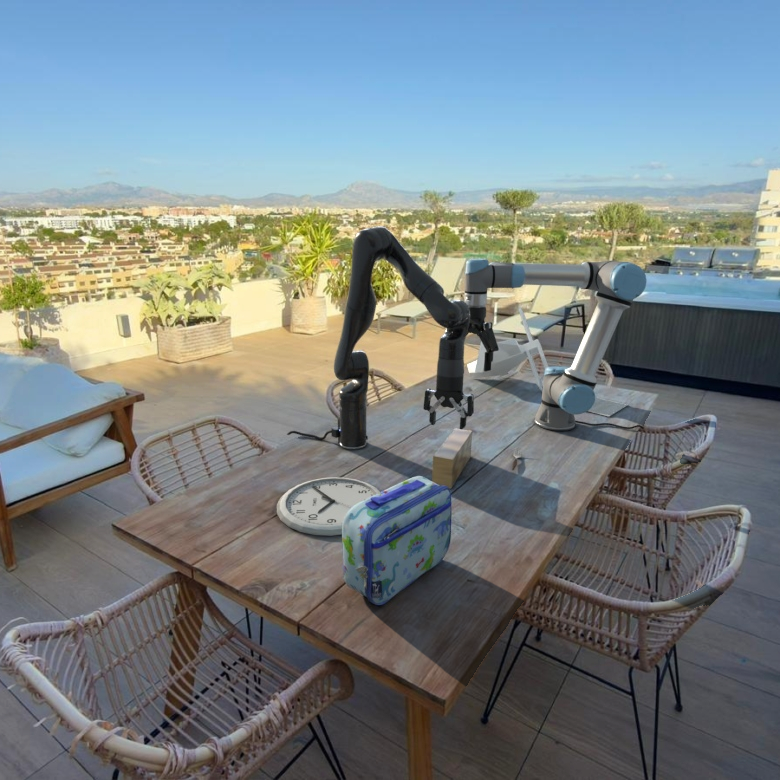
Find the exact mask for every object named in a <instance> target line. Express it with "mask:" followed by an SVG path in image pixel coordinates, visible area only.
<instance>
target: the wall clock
mask: <svg viewBox="0 0 780 780" xmlns="http://www.w3.org/2000/svg"><path fill="white" fill-rule="evenodd" d="M380 492H382V491H381V490H380V489H379V488H377V487H376V486H374V485H372V484H371V483H369V482H365V481H362V480H359V479H355V478H349V477H338V476H337V477H335V476H333V477H332V476H331V477H322V478H317V479H312V480H307V481H305V482H302V483H299V484H297V485H295V486H293V487H292V488H290V489H288V490H287V491H286V492H285V493H284V494H283V495H281V496H280V498H279V499H278V502H277V503H276V515H277V517H278V518H279V520H280V521H281V522H282V523H283V524H285V525H286V526H287V527H288V528H290V529H293V530H295V531H297V532H299V533H303V534H308V535H312V536H327V537H328V536H329V537H331V536H332V537H333V536H342V525H343V521H344V518H345V516H346V514H347V512H348V511H349V510H350V509H351V508H352V507H353V506H354V505H356V504H358V503H360V502H362V501H364V500H366V499H368V498H370V497H372V496H374V495H376V494H378V493H380Z"/></svg>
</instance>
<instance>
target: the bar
mask: <svg viewBox="0 0 780 780" xmlns="http://www.w3.org/2000/svg"><path fill="white" fill-rule="evenodd" d="M472 441H473V430H470V429H465V428H463V429H462V430H461V429H460V428H458V427H455V428H454V429H453V430H452V431H451V433H450V434H449V435H448V437H447V438H445V440H444V441H443V443H442V444H441V446H440V447H439V448H438V449H437V450H436V452H435V453H434V455H433V457H432V472H431V474H432V475H431V481H432V482H434V483H436V484H438V485H440V486H441V485H444V486H447V487H448V488H449V489H450V490H451V489H452V488H453V486H454V485H455V483H456V481H458V479H459V477H460V475H461V473H462V472H463V470H464V468H465V467H466V465H467V464H468V462H469V461H470V458H471V456H472V444H473V443H472Z"/></svg>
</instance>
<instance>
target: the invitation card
mask: <svg viewBox="0 0 780 780" xmlns="http://www.w3.org/2000/svg"><path fill="white" fill-rule="evenodd" d="M628 406H629V404H627V403H623V402H618V401H614V400H609V399H605V398H601V397H596V396H595V402H594V404H593V406H592V407H591V408H590V409H589V410H588V411H587V413H593V414H596V415H600V416H604V417H608V418H609V417H611V416H613V415H614V414H616V413H617V412H619V411H621V410H623V409H624V408H626V407H628Z"/></svg>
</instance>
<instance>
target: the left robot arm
mask: <svg viewBox="0 0 780 780" xmlns="http://www.w3.org/2000/svg"><path fill="white" fill-rule="evenodd" d="M351 252H352V253H351V269H350V279H349V284H348V293H347V298H346V302H345V307H344V315H343V322H342V328H341V333H340V337H339V340H338V344H337V348H336V351H335V355H334V359H333V360H334V361H333V371H334V376H335V378H337V380H340V381H350V382H349V383H347V384H346V385H344V386H343V387H341V388H340V390H339V393H338V396H339V397H338V399H339V416H338V417H337V426H334V427H331V429H330V430H327V431H325V433H324V435H323V436H321V437H320V436H317V435H314V434H310V433H306V432H300V431H297V430H290V431H288V432H287V433H286V436H290V435H291V434H292V435H293V434H294V435H295V434H296V435H299V436H303V437H308V438H313V439H316V440H319V441H324V440H325V439H326V438H327V436H328V435H329V434H331V437H332V438H335V439H337V444H339V446H340V447H341V448H342V449H345V450H361V449H364V448H365V447H366V446H367V444H368V443H367V441H368V439H369V438H368V435H367V394H368V390H369V378H370V377H369V376H370V362H369V357H368V355H367V352H365V351H363V350H354V349H355V347H356V345H357V343H358V342H359V340H361V338H363V336H365V334H366V333H367V331H368V330H369V329H370V327H371V326H372V324H373V322H374V318H375V314H376V308H377V296H376V293H375V290H374V288H373V284H372V277H373V270H374V268H375V263H376V262H377V261H382V260H384V261H386V262H388V263H389V264H391V265H392V266H393V267H394V268H395V269H396V270H397V272H398V273H399V275H400V278H401V280H402V282H403V284H404V286H405V288H406V289H407V291H408V292H409V293H410V294H411V295H412V296H413V297H414V298H415V299H417V301H419V303H421V304H422V305H423V306H424V307H425V309H426V310H427V312H428V313H429V315H430V316H431V318H432V319H433V320H434V321H435V322H436V323H437V324H438V325H439V326H441V327H442V328H444V329H445V331H444V334H442V336H441V337H440V338H439V341H438V356H437V357H438V358H437V363H436V383H435V385H436V386H435V390H432V389H431V387H430V388H427V389H426V390H425V391H424V397H423V410H424V411H428V412H429V420H428V421H429V424H430V425H431V426H435V425H436V423H437V422H436V421H437V411H436V410H437V409H438V408H439V407H440V406H441V407H442V408H449V409H455V410H456V412H458V414H459V415H460V417H459V419H460V420H459V429H461V430H462V429H465V428H466V426H467V419H468V417H473V416H472V415H473V414H474V411H475V409H474V406H475V395H474V394H473V393H470V394H464V391H463V390H464V376H465V375H464V374H465V360H464V359H465V358H464V356H465V341H466V338H467V336H468V335H467V331H468V327H469V322H470V310H469V307H468V305H467V304H466V303H465V302H464V300H461V299H456V300H449V299H448V298H447V297H446V296H445V290H444V288H443V286H441V284H439V282H437V281H436V280H435V278H433V277H432V276H431V275H430V274H428V273H427V272H426V271H425V270H424V269H423V268H422V267H421V266H420V265H419V264H418V263H417V262H416V261H415V260H414V258H413V257H412V256H411V255H410V254H409V252H408V251H407V250H406V249H405V247H404V246H403V245H402V244H401V242H400V241H399V240H398V238H397V237H396V236H395V235H394V234H393V233H392V232H391V231H390V230H389V229H388V228H386V227H385V226H374V227H368V228H365V229H361V230H359V231H358V232H357V234H355V236H354V239H353V243H352V251H351ZM466 335H467V336H466ZM432 397H434V398H435V399H436V400H437V401H436V402H435V403H434V404H433V405H431V401H432V400H431V399H432ZM463 400H464V401H465V402H466V403H467V409H466V408H465V406H464V404H463V403H462V401H463Z"/></svg>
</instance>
